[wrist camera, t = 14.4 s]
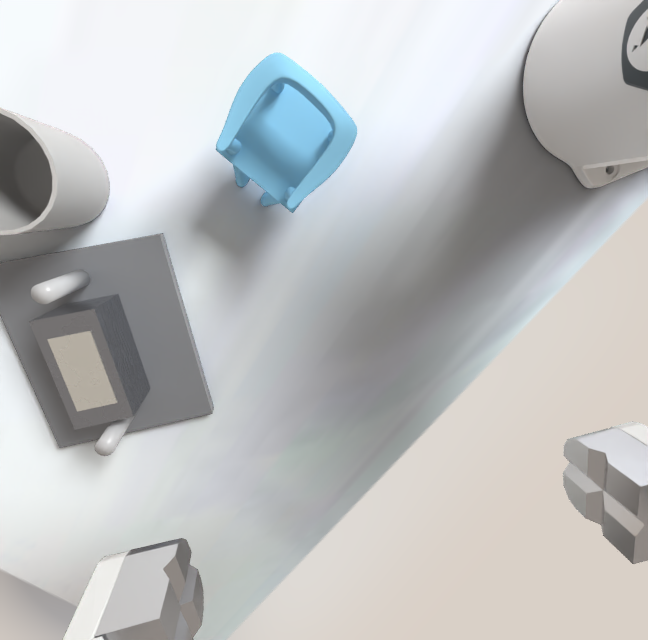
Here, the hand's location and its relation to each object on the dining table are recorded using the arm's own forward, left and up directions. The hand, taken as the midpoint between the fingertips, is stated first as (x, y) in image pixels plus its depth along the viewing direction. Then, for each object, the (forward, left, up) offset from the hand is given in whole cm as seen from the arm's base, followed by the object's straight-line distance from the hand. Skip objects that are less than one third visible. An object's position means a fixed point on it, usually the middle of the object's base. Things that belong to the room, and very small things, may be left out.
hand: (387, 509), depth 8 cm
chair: (-1, -10, -29) cm, 31 cm away
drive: (+17, +3, -28) cm, 33 cm away
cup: (+17, -12, -29) cm, 36 cm away
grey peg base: (+17, +3, -29) cm, 34 cm away
